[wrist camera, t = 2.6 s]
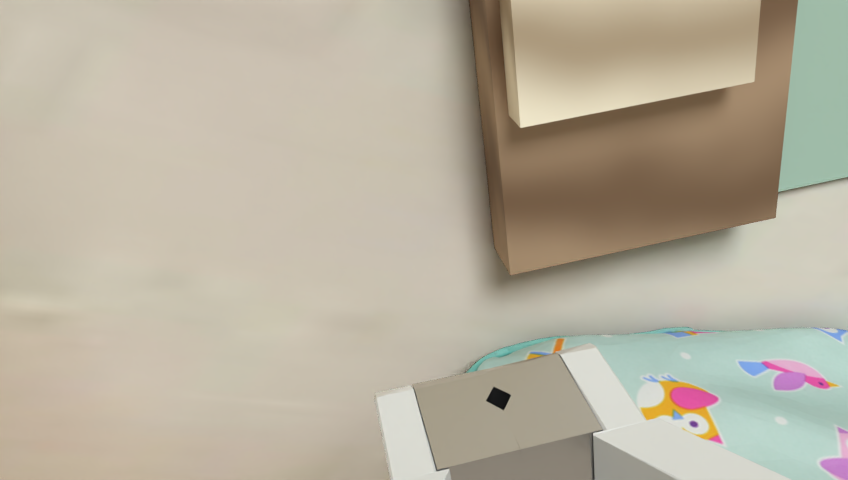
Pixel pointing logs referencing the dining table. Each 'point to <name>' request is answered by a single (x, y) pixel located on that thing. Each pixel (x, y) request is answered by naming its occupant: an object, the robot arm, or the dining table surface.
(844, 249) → the dining table surface
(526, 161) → the walnut deck
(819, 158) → the sage mat
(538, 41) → the birch tile
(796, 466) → the lunch box
